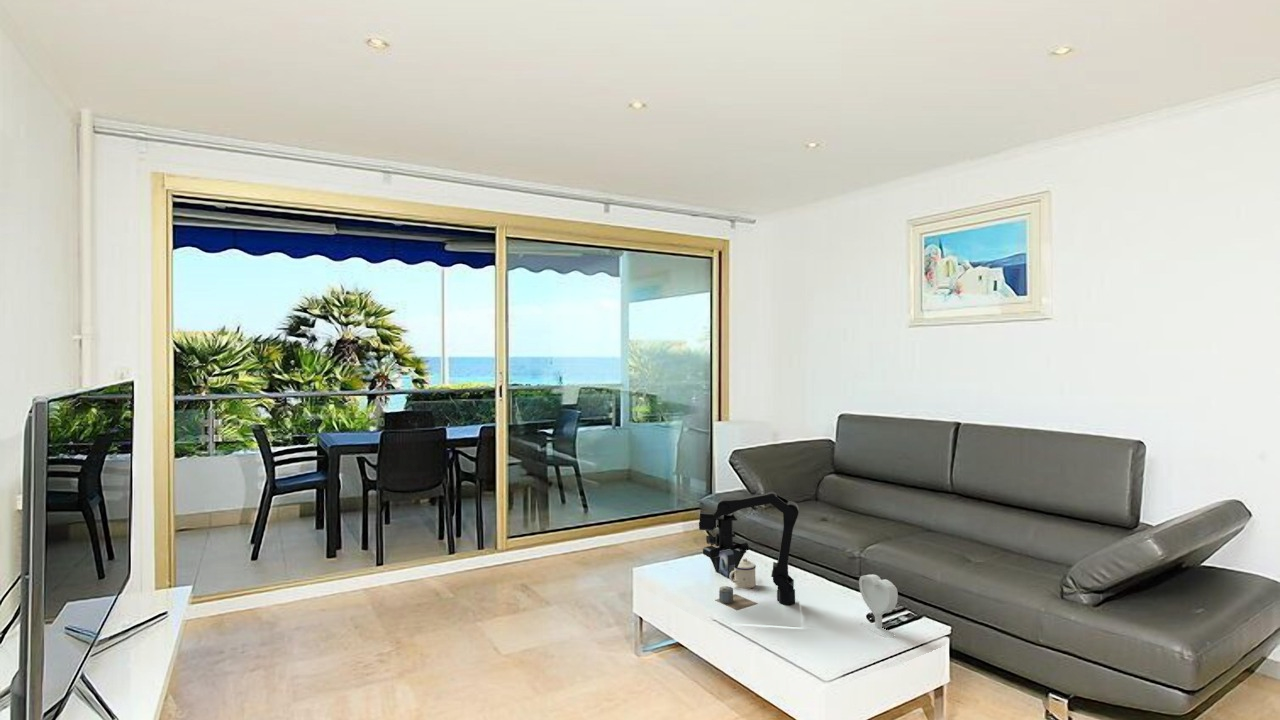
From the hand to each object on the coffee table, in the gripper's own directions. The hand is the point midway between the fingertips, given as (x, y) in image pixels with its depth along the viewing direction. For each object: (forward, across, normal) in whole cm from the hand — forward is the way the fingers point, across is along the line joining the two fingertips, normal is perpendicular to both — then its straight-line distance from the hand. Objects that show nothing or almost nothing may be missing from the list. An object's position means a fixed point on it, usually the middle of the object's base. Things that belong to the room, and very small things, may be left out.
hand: (726, 570), depth 268 cm
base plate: (+12, -1, +5) cm, 13 cm away
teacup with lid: (+12, -15, -9) cm, 21 cm away
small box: (+12, -20, -26) cm, 35 cm away
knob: (+11, +2, +2) cm, 11 cm away
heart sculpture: (+12, -27, +51) cm, 59 cm away
